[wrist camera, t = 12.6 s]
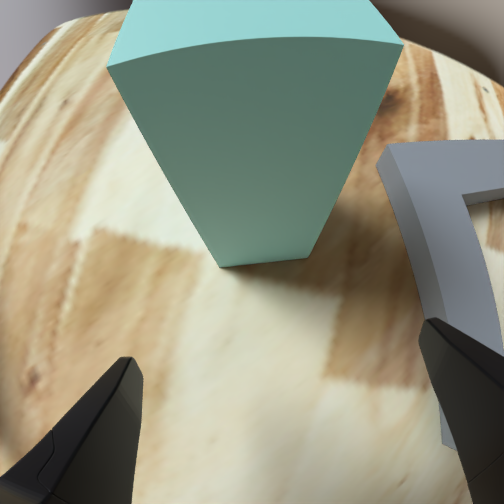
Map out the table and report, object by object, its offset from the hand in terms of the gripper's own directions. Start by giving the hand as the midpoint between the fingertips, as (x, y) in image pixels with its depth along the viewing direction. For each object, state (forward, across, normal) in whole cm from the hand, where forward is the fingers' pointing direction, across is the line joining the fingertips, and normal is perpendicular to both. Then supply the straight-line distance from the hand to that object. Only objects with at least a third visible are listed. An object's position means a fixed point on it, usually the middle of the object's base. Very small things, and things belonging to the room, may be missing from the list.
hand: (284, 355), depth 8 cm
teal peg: (+11, 0, 0) cm, 11 cm away
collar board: (+7, -18, +4) cm, 20 cm away
